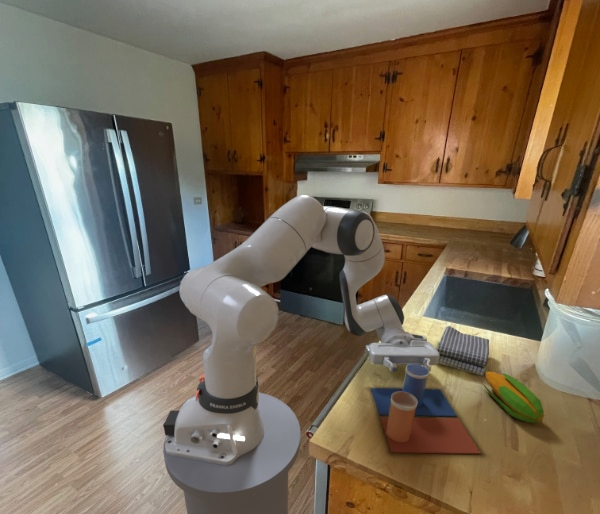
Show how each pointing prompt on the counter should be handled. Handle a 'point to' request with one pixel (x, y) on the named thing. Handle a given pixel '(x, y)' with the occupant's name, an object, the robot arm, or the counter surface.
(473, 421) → the counter surface
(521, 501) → the counter surface
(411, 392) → the blue canister
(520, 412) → the corn
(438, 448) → the terracotta mat
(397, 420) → the terracotta canister
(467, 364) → the towel
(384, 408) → the blue mat
